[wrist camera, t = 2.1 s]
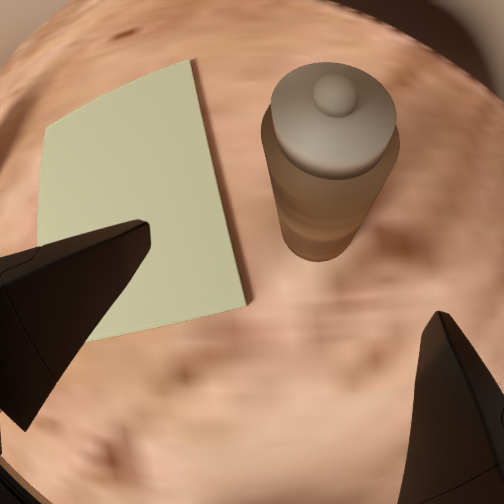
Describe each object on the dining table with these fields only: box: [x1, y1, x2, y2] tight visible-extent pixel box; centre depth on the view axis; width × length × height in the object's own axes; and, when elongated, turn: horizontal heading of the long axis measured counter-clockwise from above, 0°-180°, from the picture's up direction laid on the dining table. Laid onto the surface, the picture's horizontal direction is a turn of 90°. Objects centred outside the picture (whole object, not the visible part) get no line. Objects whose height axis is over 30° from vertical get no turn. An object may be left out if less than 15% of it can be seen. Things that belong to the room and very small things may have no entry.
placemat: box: [37, 59, 247, 342], centre depth 24 cm, size 24×18×1 cm
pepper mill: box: [261, 62, 400, 262], centre depth 14 cm, size 5×5×14 cm
